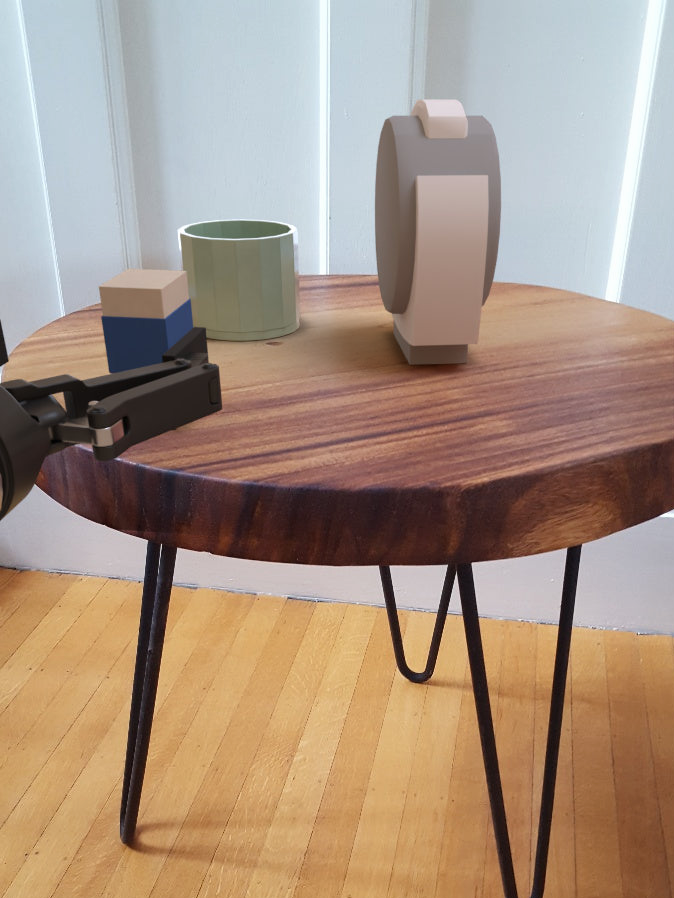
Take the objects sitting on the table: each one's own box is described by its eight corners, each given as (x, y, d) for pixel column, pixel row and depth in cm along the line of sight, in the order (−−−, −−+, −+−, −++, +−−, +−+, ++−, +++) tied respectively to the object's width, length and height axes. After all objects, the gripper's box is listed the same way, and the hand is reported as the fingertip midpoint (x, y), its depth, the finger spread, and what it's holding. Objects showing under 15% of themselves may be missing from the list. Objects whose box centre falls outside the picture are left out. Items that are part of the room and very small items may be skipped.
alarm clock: (493, 375, 83) (513, 106, 72) (396, 377, 82) (402, 106, 71) (453, 322, 98) (465, 93, 87) (371, 324, 97) (373, 93, 86)
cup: (173, 338, 92) (162, 237, 87) (205, 310, 101) (197, 217, 96) (287, 343, 91) (283, 241, 86) (308, 314, 100) (306, 221, 95)
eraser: (116, 426, 72) (96, 286, 66) (143, 400, 77) (127, 268, 71) (177, 429, 71) (162, 289, 66) (200, 403, 76) (188, 270, 71)
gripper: (-288, 525, 47) (-69, 393, 65) (200, 558, 45) (291, 411, 62) (-350, 373, 43) (-98, 276, 61) (184, 400, 41) (286, 290, 58)
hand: (99, 344), depth 62 cm, fingers open, 13 cm apart
